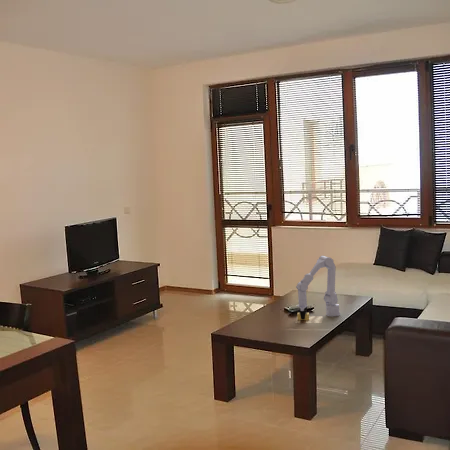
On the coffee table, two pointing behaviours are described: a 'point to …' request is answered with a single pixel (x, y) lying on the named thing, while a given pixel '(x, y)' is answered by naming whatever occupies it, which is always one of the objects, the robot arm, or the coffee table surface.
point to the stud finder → (305, 316)
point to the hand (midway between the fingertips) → (303, 318)
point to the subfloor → (311, 320)
